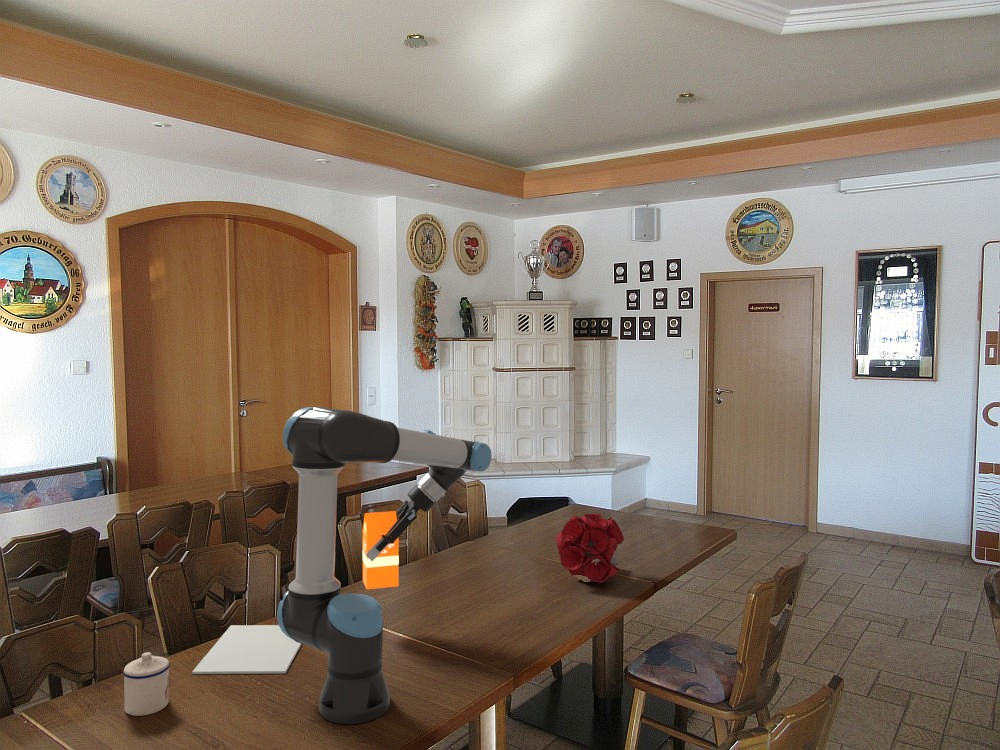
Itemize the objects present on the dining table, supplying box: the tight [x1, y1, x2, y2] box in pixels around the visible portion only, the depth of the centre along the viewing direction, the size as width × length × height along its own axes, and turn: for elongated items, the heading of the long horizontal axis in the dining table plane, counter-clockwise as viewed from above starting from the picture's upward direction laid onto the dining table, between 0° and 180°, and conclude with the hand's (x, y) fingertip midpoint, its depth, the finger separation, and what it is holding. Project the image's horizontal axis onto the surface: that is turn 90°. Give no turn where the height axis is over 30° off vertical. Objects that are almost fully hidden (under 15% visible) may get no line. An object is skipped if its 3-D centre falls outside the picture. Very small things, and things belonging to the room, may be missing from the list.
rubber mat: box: [191, 624, 302, 675], centre depth 185 cm, size 28×22×1 cm
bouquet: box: [555, 513, 625, 584], centre depth 244 cm, size 22×24×30 cm
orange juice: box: [362, 510, 400, 590], centre depth 197 cm, size 8×9×20 cm
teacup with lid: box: [122, 651, 171, 717], centre depth 156 cm, size 12×9×12 cm
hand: (368, 553), depth 197 cm, fingers closed on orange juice, 8 cm apart
